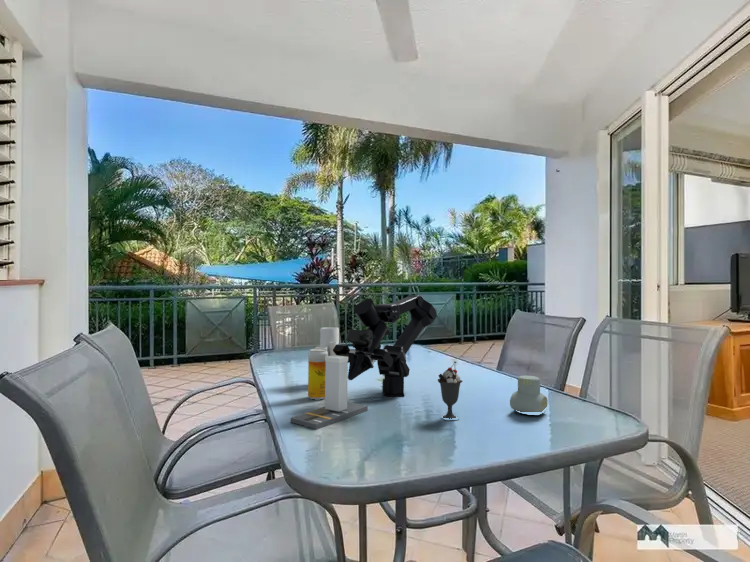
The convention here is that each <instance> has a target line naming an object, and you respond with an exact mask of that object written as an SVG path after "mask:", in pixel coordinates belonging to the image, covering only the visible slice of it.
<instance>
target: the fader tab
mask: <svg viewBox="0 0 750 562" xmlns="http://www.w3.org/2000/svg"><path fill="white" fill-rule="evenodd" d="M325 361H326V372H325V399H324V401H325V402H324V407H325V409H329V410H334V411H338V412H339V411H342V410H345V409H347V402H348V372H349V366H348V365H349V363H348V357H346V356H338V355H332V356H326V357H325Z"/></svg>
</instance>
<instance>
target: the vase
mask: <svg viewBox="0 0 750 562" xmlns="http://www.w3.org/2000/svg"><path fill="white" fill-rule="evenodd" d="M339 331H340V327H335V326H334V327H333V326H327V327H320V333H319V334H320V335H319V336H320V337H319V345H318V346H315V348H314V349H326V350H327V352H328V356H332V355H336V354H335V353H334V352H333V349H334V347H335V345H337V344H339V343H340V341H339V340H340V337H339V336H340V332H339Z"/></svg>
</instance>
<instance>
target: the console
mask: <svg viewBox="0 0 750 562" xmlns="http://www.w3.org/2000/svg"><path fill="white" fill-rule="evenodd" d="M368 410H369V407H368V405H364V404H359V403H354V402H349V401H347V409H345V410H342V411H339V412H338V411H334V410H329V409H325V406H324V407H320V408H317V409H314V410H311V411H309V412H305V413H301V414H298V415H295V416H292V417H290V419H289V421H290V422H293V423H292V424H294V423H297V424H300V425H299V426H301V425H304V426H303V427H305V426H307V427H306V428H309V427H311V428H310V429H313V428H314V429H313V430H318V429H321V428H323V427H326V426H329V425H333V424H335V423H338V422H340V421H343V420H346V419H348V418H349V419H350V418H351V417H353V416H357V415H359V414H362V413H364V412H365V413H366V412H367V411H368ZM290 422H289V423H290ZM297 424H296V425H297Z"/></svg>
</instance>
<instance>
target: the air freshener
mask: <svg viewBox="0 0 750 562" xmlns="http://www.w3.org/2000/svg"><path fill="white" fill-rule="evenodd" d="M509 405H510V409H512V410H513V409H514V410H517V411H520V412H542V411H543V410H544V409H545V408H546V407H547V408H548V397H547V396H546V395H545V394H543V393H541V378H539V377H538V376H534V375H519V376H518V377H517V390H516V391H514V392H513V393H512V394H511V396H510V400H509ZM514 410H513V411H514Z"/></svg>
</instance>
